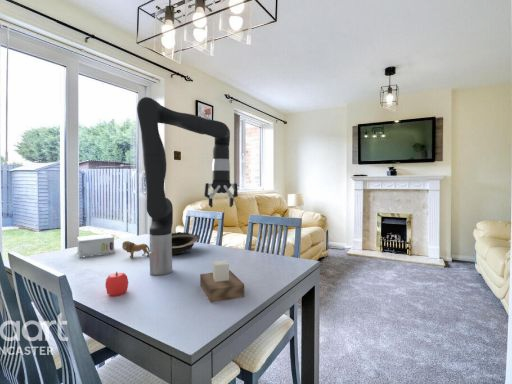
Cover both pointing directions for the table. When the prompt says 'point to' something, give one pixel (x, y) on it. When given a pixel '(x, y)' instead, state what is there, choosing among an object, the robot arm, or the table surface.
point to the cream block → (220, 271)
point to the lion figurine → (135, 248)
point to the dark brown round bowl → (183, 242)
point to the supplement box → (95, 245)
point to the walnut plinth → (221, 287)
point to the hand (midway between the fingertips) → (221, 206)
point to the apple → (116, 284)
